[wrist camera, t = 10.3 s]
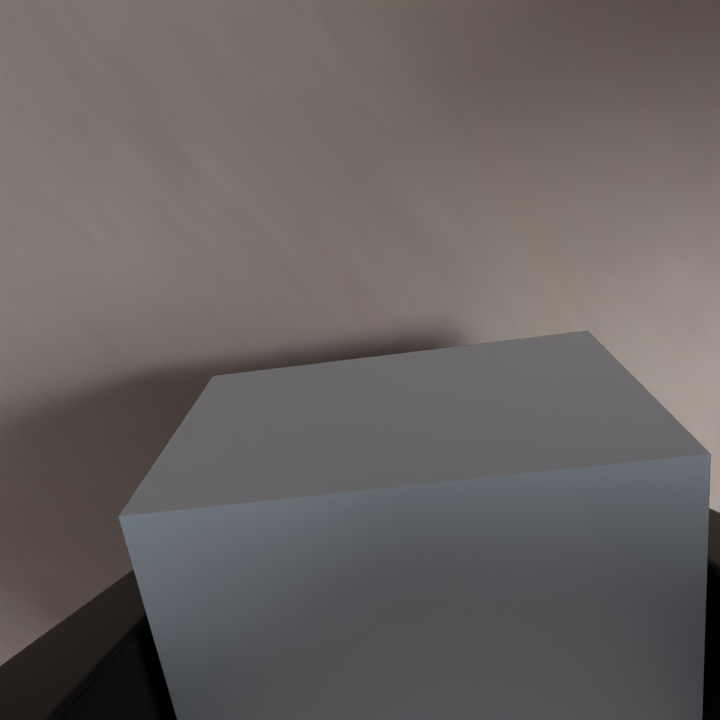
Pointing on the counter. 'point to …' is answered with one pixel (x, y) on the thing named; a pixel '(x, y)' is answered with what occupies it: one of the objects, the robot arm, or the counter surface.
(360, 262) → the counter surface
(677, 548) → the brick slate
